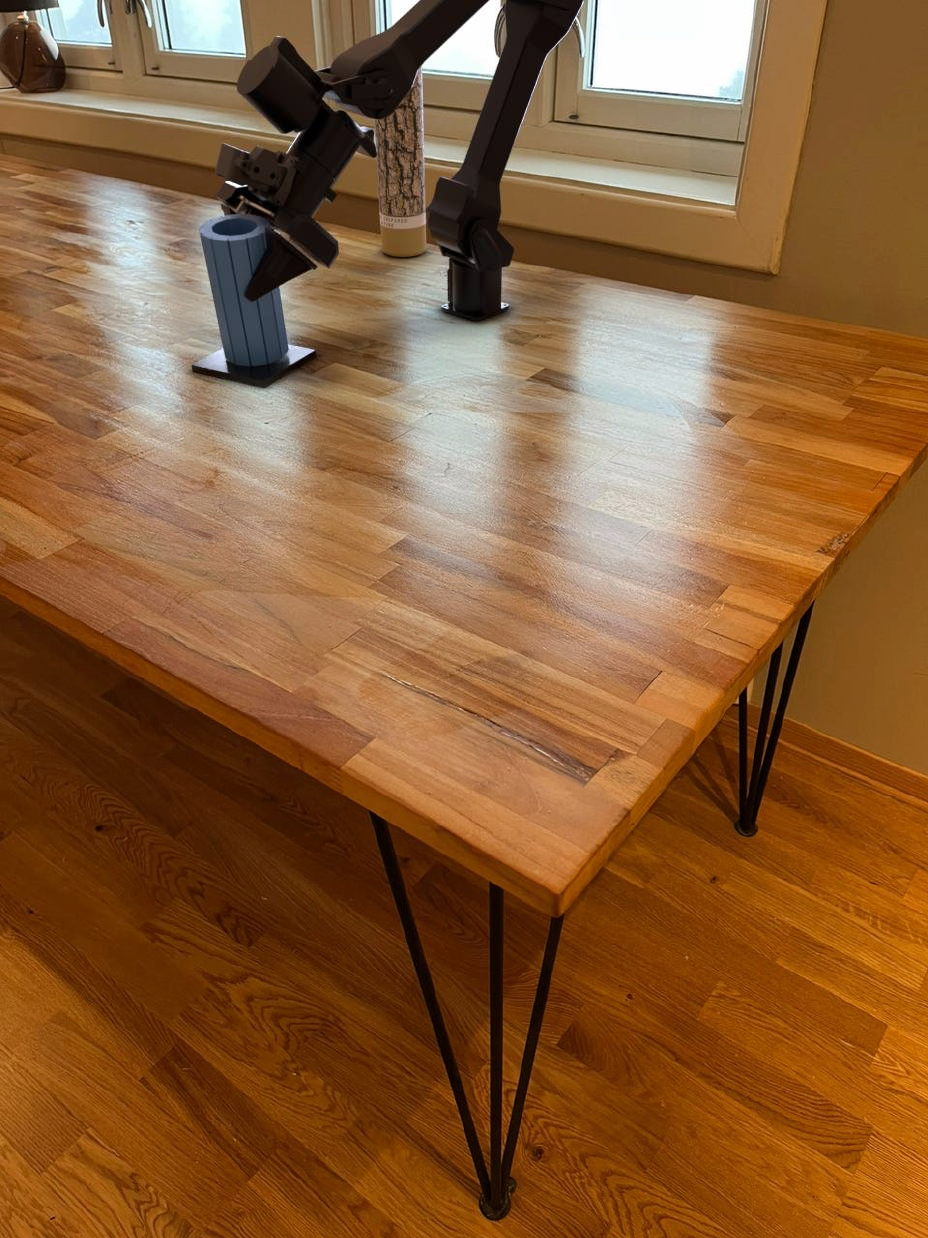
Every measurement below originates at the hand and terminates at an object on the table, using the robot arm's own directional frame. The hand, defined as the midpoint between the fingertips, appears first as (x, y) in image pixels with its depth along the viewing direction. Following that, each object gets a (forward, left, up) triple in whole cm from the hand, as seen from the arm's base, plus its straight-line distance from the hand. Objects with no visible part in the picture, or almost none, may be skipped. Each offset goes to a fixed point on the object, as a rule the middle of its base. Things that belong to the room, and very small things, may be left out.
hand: (232, 289), depth 101 cm
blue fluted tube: (0, -2, -7) cm, 8 cm away
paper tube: (+18, -43, -9) cm, 48 cm away
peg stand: (0, -1, -9) cm, 9 cm away
